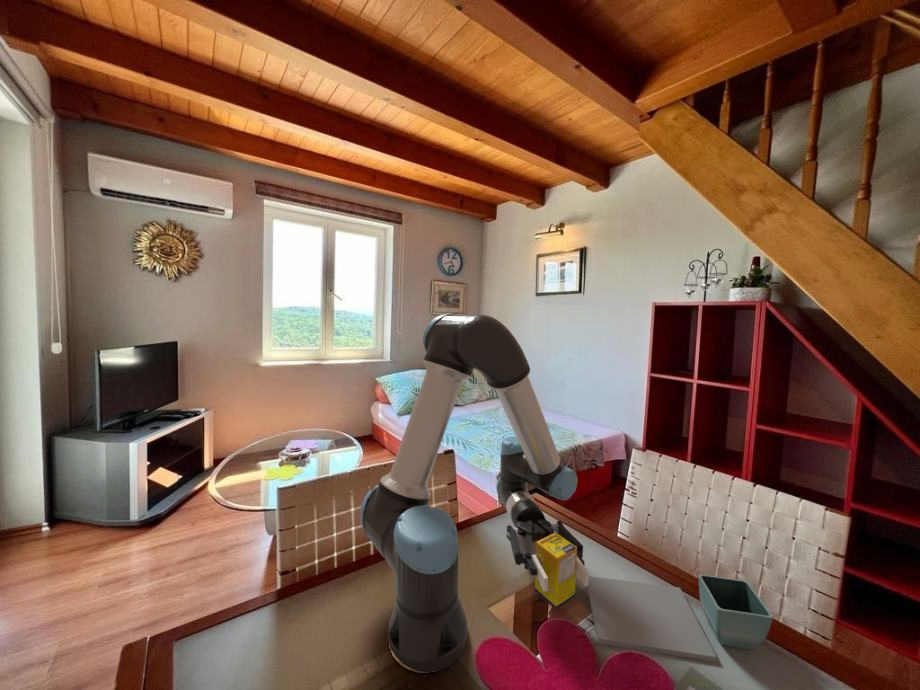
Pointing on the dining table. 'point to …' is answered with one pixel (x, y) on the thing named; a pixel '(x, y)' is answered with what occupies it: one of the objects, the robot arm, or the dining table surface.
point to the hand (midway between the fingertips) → (566, 582)
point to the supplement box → (557, 569)
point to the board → (646, 618)
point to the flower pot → (734, 611)
